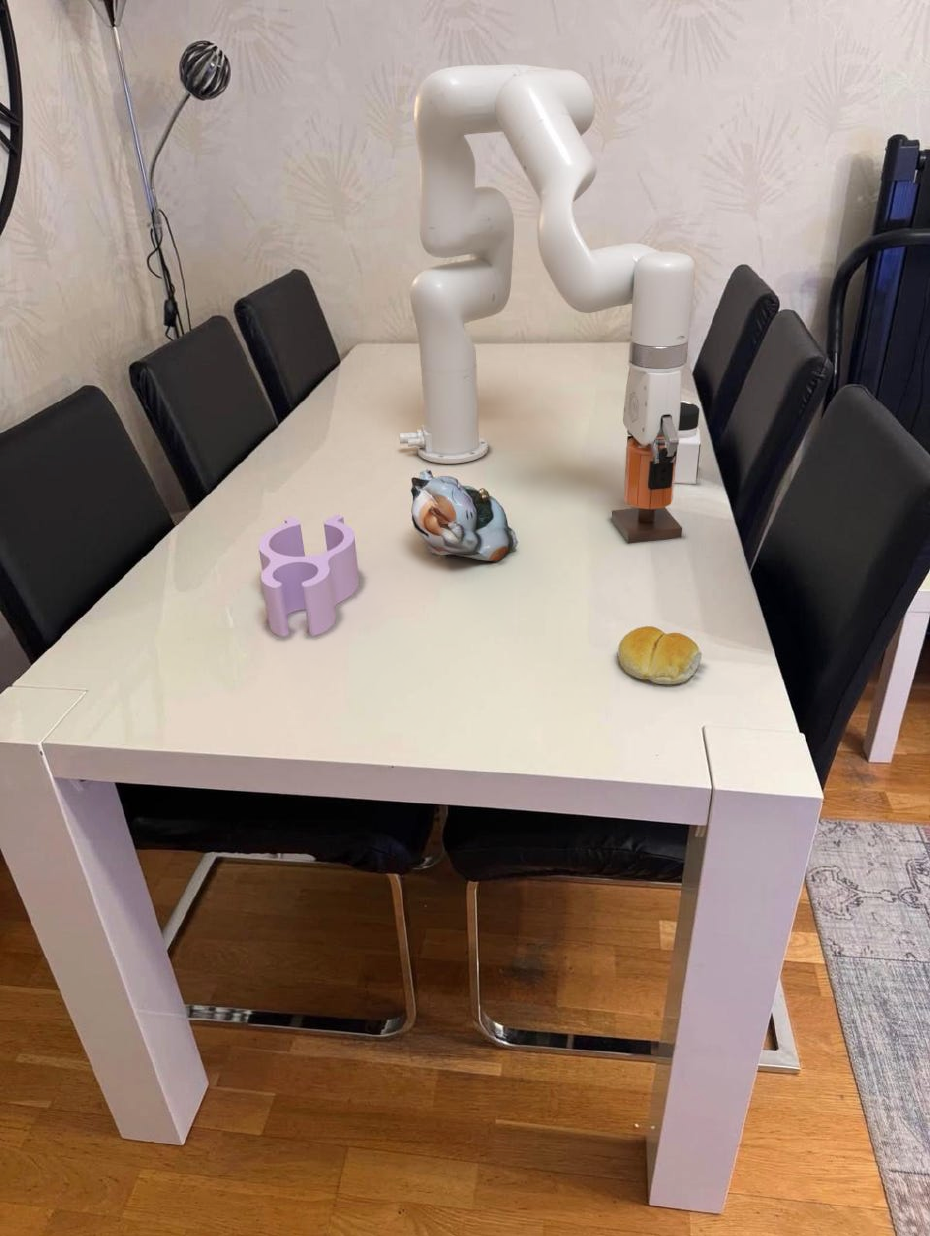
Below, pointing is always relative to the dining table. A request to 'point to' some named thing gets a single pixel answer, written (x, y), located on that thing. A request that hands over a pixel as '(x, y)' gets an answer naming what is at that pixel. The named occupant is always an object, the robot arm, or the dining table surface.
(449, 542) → the lucky cat figurine
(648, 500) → the cup
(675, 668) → the bread roll
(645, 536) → the stand
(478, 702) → the dining table surface
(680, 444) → the medicine bottle
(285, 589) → the clip
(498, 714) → the dining table surface
